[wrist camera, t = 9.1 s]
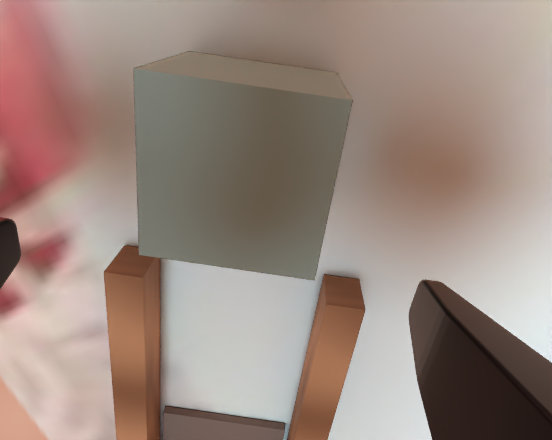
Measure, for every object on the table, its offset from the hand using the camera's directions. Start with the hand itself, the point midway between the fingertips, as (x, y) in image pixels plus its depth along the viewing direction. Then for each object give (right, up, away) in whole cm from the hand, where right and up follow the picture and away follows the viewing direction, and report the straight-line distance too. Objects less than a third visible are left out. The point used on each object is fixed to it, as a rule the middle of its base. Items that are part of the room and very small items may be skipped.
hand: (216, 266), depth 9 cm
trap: (-2, -11, +14) cm, 18 cm away
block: (+1, +4, +6) cm, 7 cm away
